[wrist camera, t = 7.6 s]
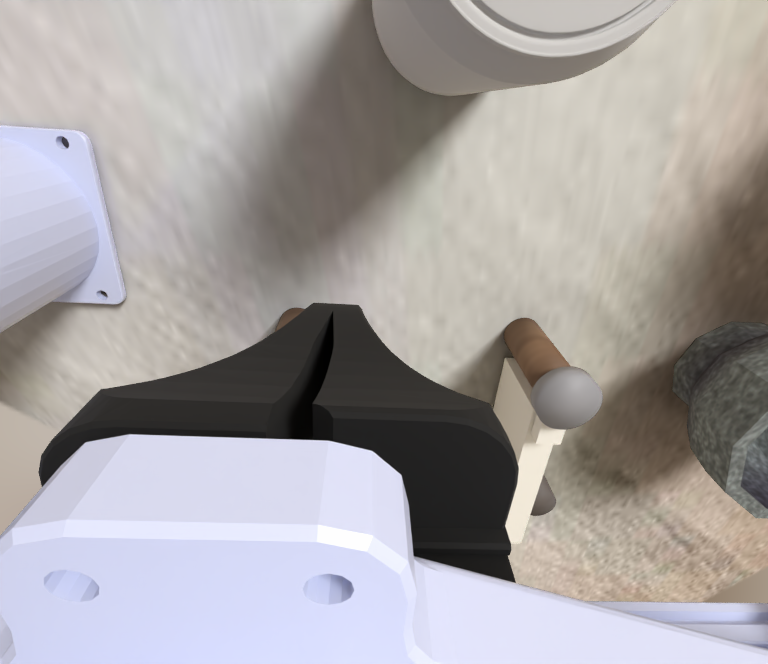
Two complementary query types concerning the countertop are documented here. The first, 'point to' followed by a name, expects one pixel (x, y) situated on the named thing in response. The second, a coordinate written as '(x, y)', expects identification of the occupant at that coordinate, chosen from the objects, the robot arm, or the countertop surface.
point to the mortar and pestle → (729, 409)
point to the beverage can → (506, 39)
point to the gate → (539, 425)
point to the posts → (534, 361)
